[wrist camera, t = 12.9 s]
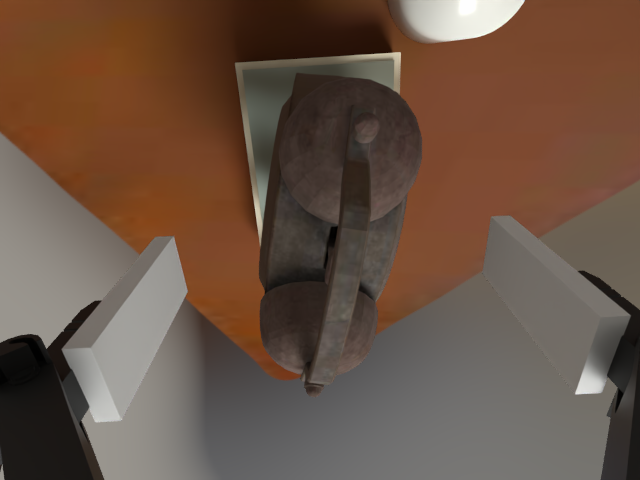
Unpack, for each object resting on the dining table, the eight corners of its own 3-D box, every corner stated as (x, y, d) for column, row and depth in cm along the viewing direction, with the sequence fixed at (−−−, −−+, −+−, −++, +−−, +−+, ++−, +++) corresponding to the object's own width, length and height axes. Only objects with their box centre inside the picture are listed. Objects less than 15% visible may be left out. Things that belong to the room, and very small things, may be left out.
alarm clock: (353, 253, 34) (399, 471, 16) (271, 242, 34) (224, 456, 15) (392, 79, 28) (538, 113, 10) (294, 61, 27) (259, 64, 9)
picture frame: (241, 62, 30) (234, 62, 27) (392, 52, 30) (401, 52, 27) (265, 243, 37) (261, 259, 34) (388, 236, 37) (395, 251, 34)
